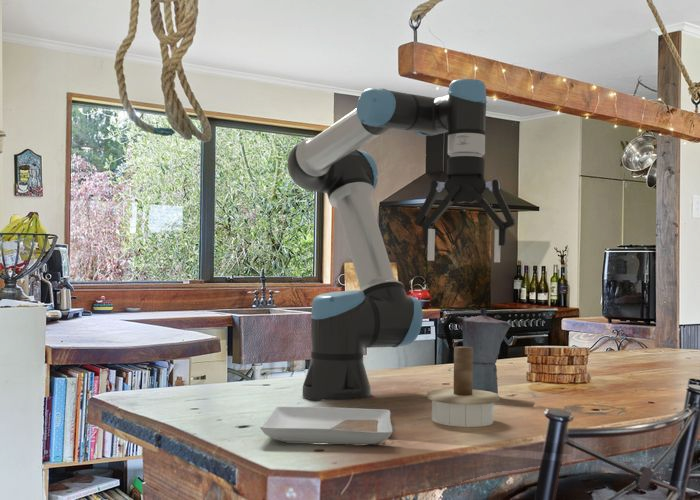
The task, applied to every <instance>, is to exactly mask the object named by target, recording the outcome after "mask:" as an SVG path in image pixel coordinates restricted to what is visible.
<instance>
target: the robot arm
mask: <svg viewBox="0 0 700 500" xmlns="http://www.w3.org/2000/svg"><path fill="white" fill-rule="evenodd" d="M486 87H487V86H486V84H485V82H483V81H482V80H480V79H474V78H459V79H454V80H452V81H451V82H450V84H449V85H448V91H447V93H448V94H447V95H444V96H438V97H430V96H426V95H421V94H420V95H419V94H412V93H406V92H401V91H400V92H399V91H395V90H389V89H387V88H374V87H373V88H371V87H370V88H366V89H364V90H363V91H362V92H361V94H360V96H359V98H358V99H357V103H356V107H355V109H353V110H352V111H351V112H349V113H348V114H346V115H344V116H343V117H341V119H338V120H337V121H336V122H334V123H333V124H332V125H330V126H329V127H327V128H326V129H324V130H323V131H322V132H320V133H319V134H317V135H316V136H314V137H307V138H304V139H302V140H301V141H300V142H298V143H297V144H296V145H295V146H294V147H292V149H291V150H290V152H289V155H288V156H287V157H288V158H287V163H286V164H287V170H288V174H289V176H290V178H291V180H292V181H293V182H294V184H296V185H297V186H298V187H299V188H301V189H303V190H306V191H308V192H314V193H315V192H316V193H326V195H327V199H328V202H329V205H331V206H332V207H333V208H336V209H337V212H338V215H339V218H340V223H341V225H342V229H343V232H344V233H343V234H344V236H345V237H344V238H345V240H346V243H347V247H348V250H349V254H350V257H351V261H352V265H353V268H354V272H355V275H356V278H357V279H356V280H357V283H358V286H359V290H342V291H341V290H340V291H339V290H338V291H332V292H326V293H325V292H324V293H320V294H318V295H316V296H315V297H314V298H313V300H312V303H311V312H310V318H311V329H310V331H311V333H310V334H311V335H310V336H311V337H310V338H311V339H310V341H311V342H310V345H311V346H310V363H309V367H308V370H307V372H306V376H305V378H304V382H303V384H302V397H303V398H304V399H308V400H312V401H317V402H318V401H319V402H321V401H322V400H323V401H324V400H327V401H351V400H361V399H366V398H370V397H371V396H372V395H371V391H372V389H371V385H370V381H369V377H368V374H367V370H366V367H365V364H364V348H365V349H369V348H373V349H374V348H398V347H403V346H409V345H411V344H412V343H413V342H415V340H416V339H417V338H418V337H419V335H420V332H421V328H422V326H423V321H424V320H423V319H424V317H423V315H424V314H423V308H422V305H421V302H420V301H419V299H418V298H416V297H415V296H412V295H407V292H406V289H405V286H404V283H403V282H401V281H399V280H397V279H396V277H395V276H394V271H393V268H392V265H391V261H390V258H389V255H388V252H387V249H386V245H385V241H384V239H383V236H382V233H381V228H380V227H379V223H378V219H377V216H376V213H375V210H374V206H373V203H372V200H371V198H372V197H373V195H374V192H375V189H376V187H377V185H378V181H379V179H378V177H377V176H379V171H378V166H377V164H376V161H375V159H374V157H373V156H372V155H371V154H370V153H368V152H367V151H365V150H360V148H361V147H363V146H364V145H365V146H366V144H368V143H369V142H371V141H372V140H375V139H376V138H378V137H380V136H381V135H383V134H384V133H386V132H388V131H389V130H392V129H393V130H400V131H401V130H404V131H410V132H414V133H415V134H416V135H418V136H421V137H426V136H427V137H429V136H430V137H433V136H437V135H440V134H446V133H447V155H448V156H449V157H448V158H447V160H446V161H447V162H446V163H447V164H446V166H447V167H446V180H445V181H444V182H443V181H437V180H435V179H433V180H432V181H431V183H430V188H429V189H430V190H429V193H428V195H427V196H426V198H425V200H424V203H423V204H422V206H421V208H420V211H419V212H418V214H417V216H416V219H414V225H416V226H418V227H421V228H422V229H423V233H422V234H423V235H422V236H423V237H422V238H423V240H422V241H423V244H424V245H427V261H431V262H434V261H435V249H436V248H435V247H436V246H435V245H436V229H434V228H433V227H434V225H435V224H436V222H438V220H439V219H441V217H442V216H443V215H444V213H445V212H446V211H447V210H448V209H449V207H451V205H453V204H454V203H455V202H456V203H458V204H464V203H469V204H474V203H478V204H479V205H480V207H482V209H483V210H484V212H485V213H486V214H487V216H488V217H490V219H491V220H492V221H493V222H494V224H495V225H496V226H497V227H498V229H494V247H493V248H494V249H493V251H494V253H493V263H501V246H502V247H503V246H506V244H507V230H508V229H509V228H512V227H516V225H517V223H516V220H515V218H514V216H513V214H512V212H511V209H510V207H509V206H508V204H507V202H506V200H505V199H506V198H505V197H504V195H503V193H502V192H501V191H502V189H501V182H500V181H499V180H497V179H493V180H491V181H486V179H485V163H486V162H485V158H484V157H483V156H485V155H486V122H487V121H486V120H487V119H486V118H487V116H486V115H487V103H488V101H487V89H486ZM443 189H445V191H446V192H447V195H446V196H445V197H444V198H443V200H442V202H440V204H439V205H438V206H437V207H436V208H435V209H434V211H433V212H432V213H431V215H429V213H430V211H431V209H432V208H433V206H434V204H435V201H436V200H437V198H438V196H439V193H441V192H443V191H442V190H443ZM486 189H488V190H489V191H490V192H492V193H493V195H494V198H495V200H496V202H497V204H498V206H499V208H500V210H501V213H502V215H503V216H504V219H505V221H504V220H503V219H502V218H501V217H500V216H499V214H498V213H497V212H496V211H495V209H494V208H493V207H492V206H491V205H490V203H489V202H488V201H487V199H486V198H485V197H484V195H482V194H483V193H484V192H485V190H486ZM428 215H429V217H428ZM427 217H428V218H427Z"/></svg>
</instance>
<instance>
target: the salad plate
mask: <svg viewBox="0 0 700 500" xmlns="http://www.w3.org/2000/svg"><path fill="white" fill-rule="evenodd" d="M348 420H349V421H350V420H351V421H377V424H376V425H377V429H376V430H377V431H368V430H367V431H366V430H352V429H351V430H349V429H339V428H338V429H337V428H334V427H335V426H337V425H340V424H341V423H343V422H345V421H348ZM259 428H260V430H261V432H263V434H265V436H267V437H269V438H270V439H273V440H275V441H280V442H282V443H284V442H288V443H287V444H291V443H328V444H371V445H377V444H381V443H383V442H384V441H387V440H388V439H389V438H390V436H392V434H393V429H394V428H393V424H392V422H391V410H390V409H381V408H378V409H377V408H357V407H332V406H331V407H329V406H328V407H327V406H322V407H321V406H276V407H275V408H274V409H273V410H272V411H271V413H270V414H269V416H267V418H266V419H265V421H263V423H262V424H261V425H260V427H259Z"/></svg>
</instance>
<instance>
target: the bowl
mask: <svg viewBox="0 0 700 500" xmlns="http://www.w3.org/2000/svg"><path fill="white" fill-rule="evenodd" d="M431 421H432V422H434V423H436V424H440V425H443V426H444V425H445V426H450V427H452V426H453V427H462V428H463V427H464V428H467V427H468V428H472V427H473V428H475V427H486V426H490V425H491V426H492V424H494V422H495V403H490V404H476V405H467V404H450V403H442V402H436V401H432V400H431Z"/></svg>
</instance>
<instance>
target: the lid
mask: <svg viewBox="0 0 700 500" xmlns="http://www.w3.org/2000/svg"><path fill="white" fill-rule="evenodd" d="M453 347H454V356H453V388H441V389H431V390H429V391H427V393H426V398H427V399H428V400H429V401H431V402H432V401H436V402H442V403H450V404H467V405H476V404H490V403H494V404H495V403H498V402H499V401H500V395H499V393H498V394H496V393H493V392H489V391H483V390H474V389H472V377H473V347H463V346H453Z"/></svg>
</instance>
